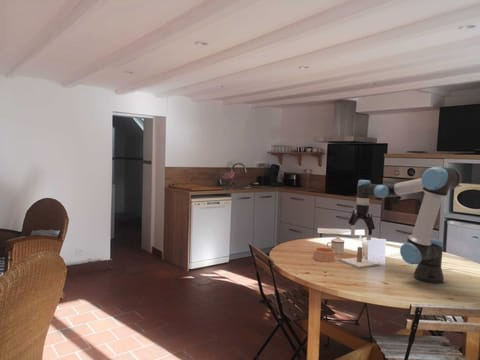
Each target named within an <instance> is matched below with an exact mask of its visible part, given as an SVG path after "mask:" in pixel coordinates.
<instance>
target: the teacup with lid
mask: <svg viewBox="0 0 480 360" xmlns="http://www.w3.org/2000/svg"><path fill="white" fill-rule="evenodd" d="M329 244H330V247H329ZM326 248H329V249H333V250H334V251H335V255H343V254H344V250H345V240H343V239H342V238H340V236H336V237H335V238H332V239H331V240H330V241H328V242H327V243H326Z"/></svg>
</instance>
